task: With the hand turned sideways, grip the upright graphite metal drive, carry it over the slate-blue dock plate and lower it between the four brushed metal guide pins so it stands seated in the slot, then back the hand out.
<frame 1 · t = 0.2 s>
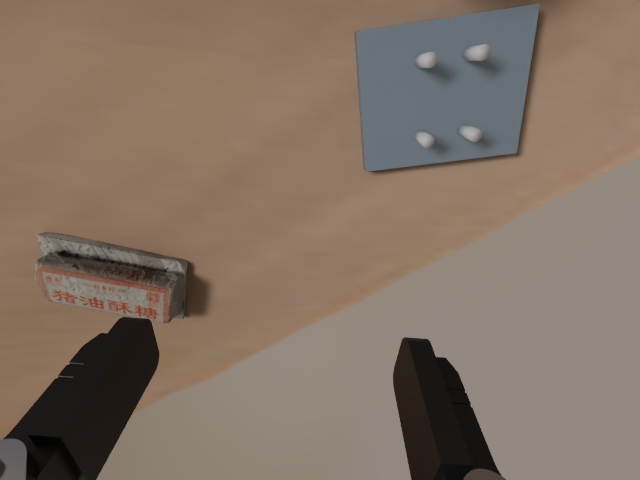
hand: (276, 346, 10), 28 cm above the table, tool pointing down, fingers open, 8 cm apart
packaged product: (122, 273, 44), on the table
dock: (438, 96, 33), on the table
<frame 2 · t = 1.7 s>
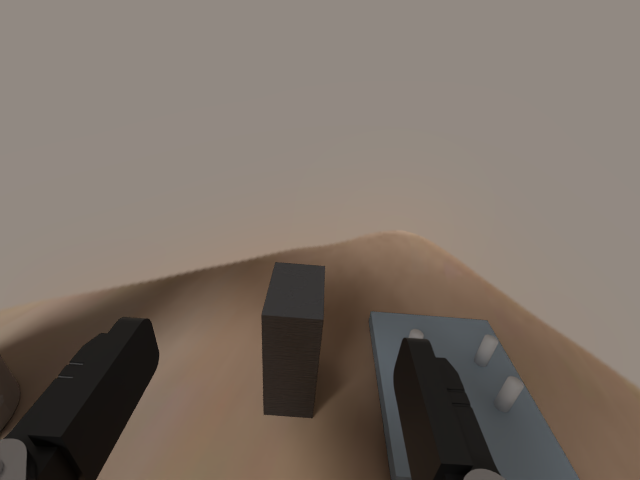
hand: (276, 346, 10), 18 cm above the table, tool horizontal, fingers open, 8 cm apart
dock: (448, 389, 29), on the table
drive: (291, 383, 29), on the table
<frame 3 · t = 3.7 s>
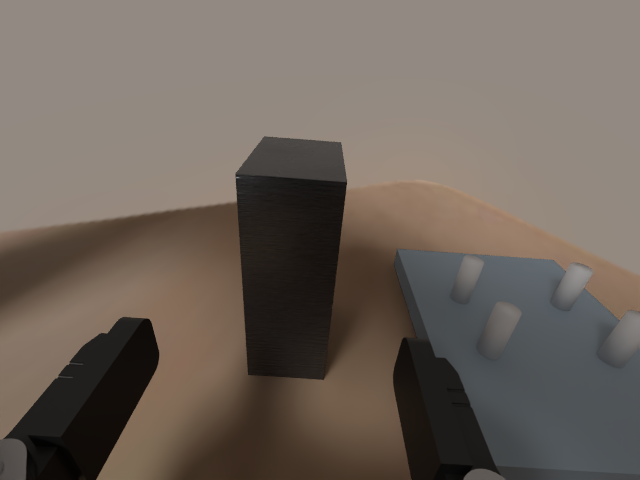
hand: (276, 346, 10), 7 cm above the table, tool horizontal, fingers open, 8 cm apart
dock: (518, 342, 20), on the table
drive: (291, 334, 20), on the table
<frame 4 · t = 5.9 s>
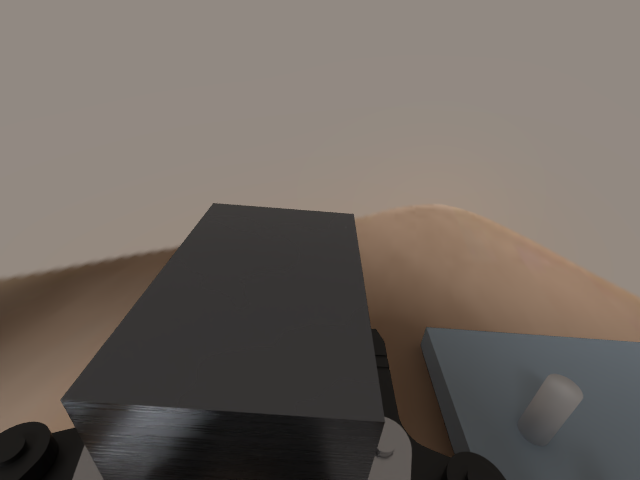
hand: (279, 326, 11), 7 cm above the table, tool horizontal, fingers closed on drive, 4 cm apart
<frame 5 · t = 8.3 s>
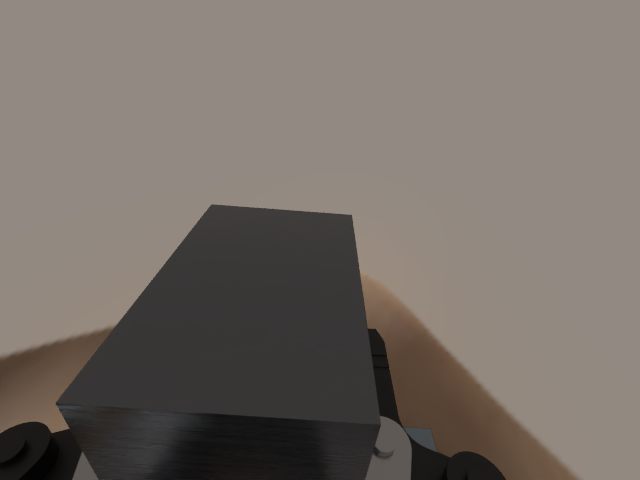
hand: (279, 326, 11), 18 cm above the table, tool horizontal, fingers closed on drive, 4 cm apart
when the fingers open (9 cm above the table, at t = 11.0 s): drive drops 1 cm, resting on dock.
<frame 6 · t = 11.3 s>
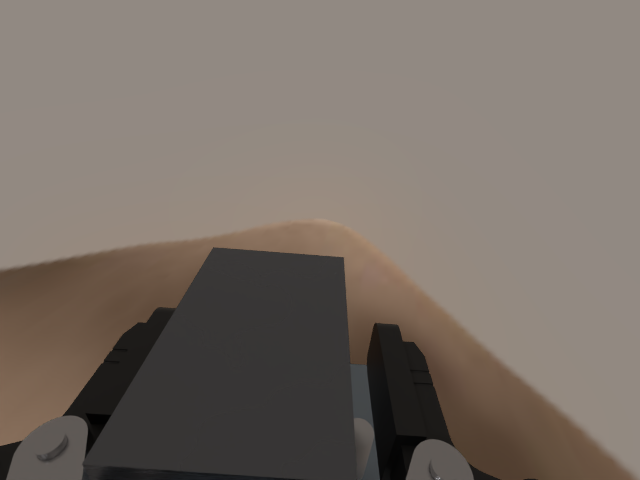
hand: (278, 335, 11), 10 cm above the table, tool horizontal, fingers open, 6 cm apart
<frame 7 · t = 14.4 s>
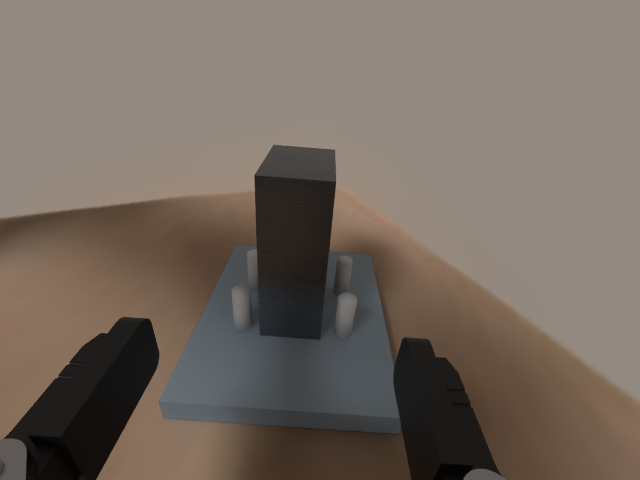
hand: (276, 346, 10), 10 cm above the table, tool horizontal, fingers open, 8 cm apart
dock: (295, 321, 25), on the table
drive: (294, 306, 24), point 1 cm above the table, touching dock
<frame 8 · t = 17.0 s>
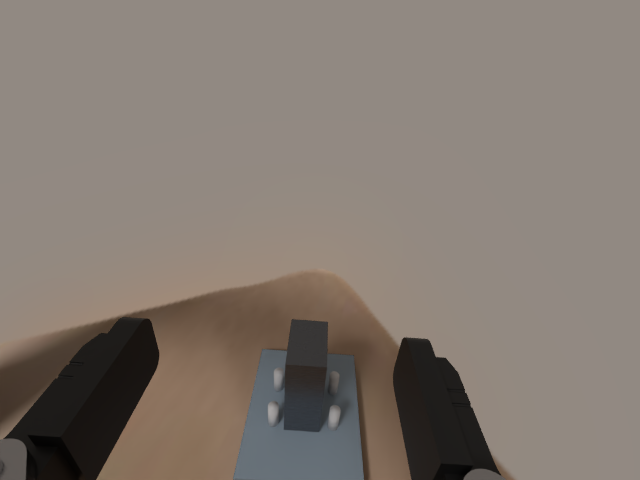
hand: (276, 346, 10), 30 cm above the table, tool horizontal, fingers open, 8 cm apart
dock: (303, 413, 39), on the table
drive: (303, 405, 39), point 1 cm above the table, touching dock
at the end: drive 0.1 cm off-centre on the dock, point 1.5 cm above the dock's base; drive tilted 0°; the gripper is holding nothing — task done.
